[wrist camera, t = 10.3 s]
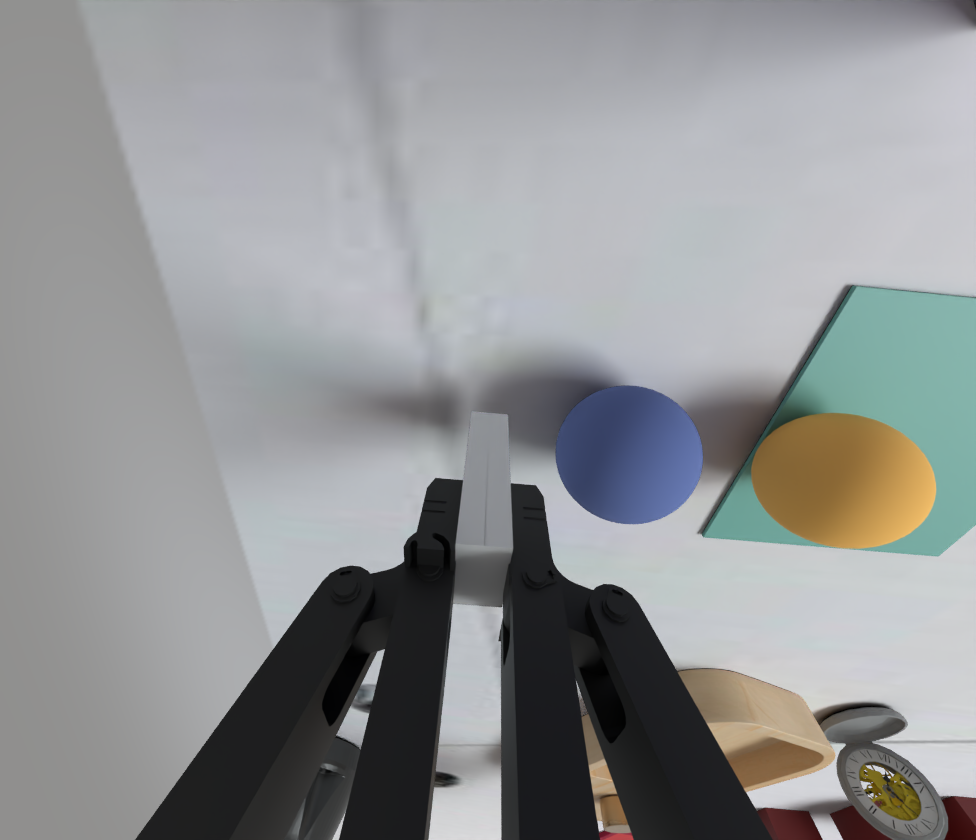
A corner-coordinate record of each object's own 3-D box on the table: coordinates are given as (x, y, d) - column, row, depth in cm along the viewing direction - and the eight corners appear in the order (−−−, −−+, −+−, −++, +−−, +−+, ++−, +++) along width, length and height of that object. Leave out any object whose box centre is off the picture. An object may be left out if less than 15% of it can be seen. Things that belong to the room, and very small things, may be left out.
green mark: (701, 534, 21) (703, 537, 21) (852, 285, 14) (856, 286, 14) (935, 553, 22) (938, 556, 22) (1207, 320, 14) (1215, 322, 14)
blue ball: (670, 578, 13) (682, 487, 17) (727, 457, 10) (726, 382, 14) (529, 520, 15) (570, 451, 20) (542, 406, 12) (587, 353, 17)
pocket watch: (876, 695, 32) (1009, 878, 24) (919, 720, 35) (1054, 894, 26) (785, 723, 36) (873, 890, 27) (831, 744, 38) (924, 902, 30)
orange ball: (740, 547, 15) (900, 599, 14) (817, 442, 12) (1031, 496, 11) (721, 469, 20) (842, 503, 18) (775, 377, 17) (924, 409, 15)
